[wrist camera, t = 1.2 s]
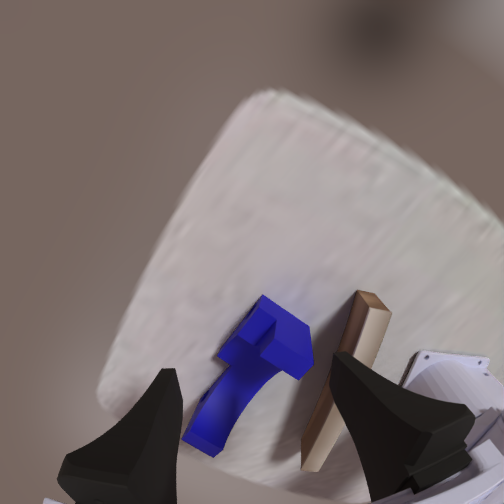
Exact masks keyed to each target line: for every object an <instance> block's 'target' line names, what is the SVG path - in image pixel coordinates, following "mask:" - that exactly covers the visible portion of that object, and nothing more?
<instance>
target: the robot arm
mask: <svg viewBox="0 0 504 504" xmlns="http://www.w3.org/2000/svg"><path fill="white" fill-rule="evenodd" d="M426 355H428V356H427V357H426V358H424V357H425V356H426ZM478 362H479V363H478ZM488 364H489V359H488V358H487V357H478V356H467V355H458V354H448V353H440V352H431V351H424V350H422V351H419V352H418V353H417V355H416V357H415V359H414V362H413V364H412V366H411V368H410V371H409V373H408V375H407V377H406V379H405V381H404V383H403V385H402V387H401V386H398V385H397V384H395V383H393V382H391V381H389V380H387V379H386V378H384V377H382V376H381V375H379V374H378V373H376V372H374V371H373V370H372V369H370V368H369V367H367V366H366V365H364V364H363V363H361V362H360V361H359V360H357V359H356V358H355V357H353V356H352V355H350V354H349V353H348V352H346V351H342V352H337V353H333V359H332V366H331V374H330V381H329V387H330V390H331V393H332V396H333V399H334V402H335V404H336V406H337V408H338V410H339V412H340V414H341V416H342V418H343V420H344V422H345V424H346V426H347V428H348V430H349V432H350V434H351V436H352V438H353V441H354V443H355V446H356V449H357V451H358V454H359V457H360V460H361V464H362V467H363V470H364V473H365V477H366V481H367V485H368V488H369V493H370V497H371V502H372V503H369V504H504V386H503V385H502V384H501V383H500V382H499V381H498V380H497V379H496V378H495V377H494V376H493V375H492V374H491V373H490V372H489V371H488V370H487V369H486V368H487V366H488ZM182 419H183V398H182V395H181V391H180V387H179V382H178V378H177V374H176V370H175V368H166V369H161V370H160V372H159V373H158V375H157V376H156V378H155V379H154V381H153V382H152V383H151V385H150V386H149V388H148V389H147V390H146V392H145V393H144V394H143V396H142V397H141V398H140V399H139V401H138V402H137V403H136V404H135V405H134V407H133V408H132V409H131V410H130V411H129V412H128V413H127V414H126V415H125V416H124V417H123V418H122V419H121V420H120V421H119V422H118V423H117V424H116V425H115V426H113V427H112V428H111V429H110V430H108V431H107V432H106V433H104V434H103V435H102V436H100V437H99V438H97V439H96V440H94V441H92V442H91V443H89V444H87V445H85V446H84V447H82V448H80V449H78V450H76V451H73V452H71V453H69V454H67V455H66V456H65V458H64V461H63V463H62V466H61V469H60V471H59V474H58V477H57V481H58V483H59V485H60V486H61V488H62V489H63V490H64V491H65V492H66V493H67V494H68V495H69V496H70V497H71V498H72V499H73V500H74V501H75V502H76V503H75V504H177V496H176V462H177V453H178V446H179V439H180V433H181V426H182ZM43 504H65V503H62V502H59V501H56V500H53V499H50V498H45V499H44V502H43Z"/></svg>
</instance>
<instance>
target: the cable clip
mask: <svg viewBox="0 0 504 504" xmlns="http://www.w3.org/2000/svg"><path fill="white" fill-rule="evenodd" d="M217 356H218V357H219V358H221V359H222V360H224V361H225V362H227V363H228V364H230V366H229V367H228V368H227V369H226V370H225V371H224V373H223V374H222V375H221V376H220V377H219V378H218V380H217V381H216V382H215V383H214V384H213V385H212V386H211V388H210V389H209V390H208V391H207V392H206V393H205V394H204V396H203V397H202V398H201V399H200V401H199V403H198V405H197V407H196V410H195V412H194V414H193V416H192V418H191V420H190V422H189V424H188V426H187V428H186V431H185V433H184V435H183V437H182V440H183V441H185V442H187V443H188V444H190V445H192V446H193V447H195V448H197V449H199V450H200V451H202V452H204V453H206V454H207V455H209V456H211V457H213V458H214V457H215V456H216V455H217V454H219V453H220V452H221V451H222V450H223V448H224V445H225V443H226V440H227V438H228V436H229V434H230V432H231V430H232V428H233V426H234V424H235V423H236V421H237V419H238V418H239V416H240V415H241V413H242V412H243V410H244V409H245V407H246V406H247V404H248V403H249V402H250V400H251V399H252V398H253V397H254V395H255V394H256V393H257V392H258V391H259V390H260V388H261V387H262V386H263V385H264V384H265V383H266V382H267V381H268V380H270V379H271V378H272V377H273V376H274V375H276V374H277V373H278V372H280V371H282V370H283V371H284V372H286V373H287V374H289V375H291V376H292V377H294V378H295V379H297V380H299V379H300V378H301V377H302V376H303V375H304V374H305V373H306V372H307V371H308V370H309V369H310V368H311V367H312V366H313V365H314V360H313V352H312V344H311V336H310V328H309V326H308V325H306V324H305V323H303V322H302V321H300V320H299V319H298V318H296V317H295V316H293V315H292V314H290V313H289V312H287V311H286V310H284V309H283V308H282V307H280V306H279V305H277V304H276V303H274V302H273V301H272V300H270V299H269V298H267V297H266V296H264V295H262V296H261V297H260V299H259V300H258V301H257V302H256V304H255V305H254V306H253V308H252V309H251V310H250V312H249V313H248V314H247V315H246V317H245V318H244V319H243V321H242V322H241V323H240V324H239V326H238V327H237V328H236V330H235V331H234V332H233V333H232V335H231V336H230V337H229V339H228V340H227V341H226V342H225V344H224V345H223V346H222V347H221V349H220V351H219V353H218V355H217Z"/></svg>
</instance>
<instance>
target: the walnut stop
mask: <svg viewBox="0 0 504 504" xmlns="http://www.w3.org/2000/svg"><path fill="white" fill-rule="evenodd" d="M391 315H392V312H390V311H389V310H388V308H387V307H386V306H385V305H384V304H383V303H382V301H381V300H380V299H379V298H378V297H377V296H376V295H375V294H374V293H370V292H365V291H360V290H357V292H356V295H355V299H354V302H353V305H352V308H351V312H350V315H349V318H348V321H347V324H346V327H345V330H344V333H343V336H342V339H341V342H340V345H339V348H338V350H337V352H342V351H346V352H348V353H349V354H350V355H352V356H353V357H355V358H356V359H357V360H359V361H360V362H361V363H363V364H364V365H366V366H367V367H369V368H370V369H371V368H372V365H373V363H374V360H375V358H376V355H377V353H378V350H379V348H380V345H381V343H382V340H383V337H384V335H385V332H386V329H387V327H388V324H389V321H390V318H391ZM330 374H331V370H330V372H329V375H328V377H327V380H326V383H325V385H324V388H323V390H322V393H321V395H320V397H319V400H318V402H317V405H316V407H315V409H314V412H313V414H312V416H311V419H310V421H309V423H308V425H307V428H306V430H305V432H304V434H303V436H302V439H301V470H302V471H311V472H318V471H319V469H320V468H321V466H322V464H323V463H324V461H325V459H326V458H327V456H328V454H329V453H330V451H331V449H332V447H333V445H334V444H335V442H336V440H337V438H338V436H339V435H340V433H341V431H342V429H343V427H344V425H345V422H344V420H343V418H342V416H341V414H340V412H339V410H338V408H337V406H336V404H335V402H334V399H333V396H332V393H331V390H330V387H329V381H330Z"/></svg>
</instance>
